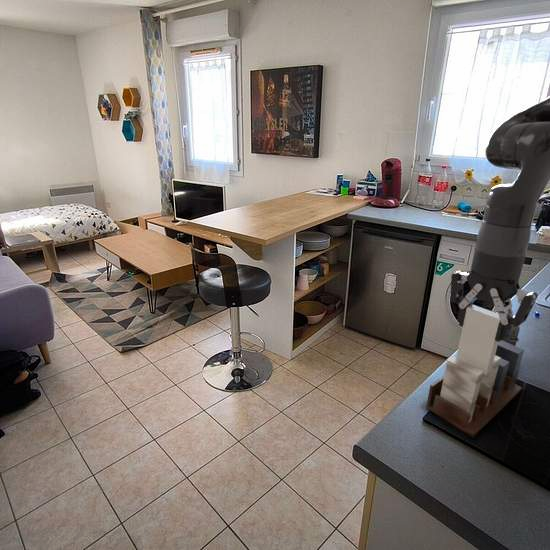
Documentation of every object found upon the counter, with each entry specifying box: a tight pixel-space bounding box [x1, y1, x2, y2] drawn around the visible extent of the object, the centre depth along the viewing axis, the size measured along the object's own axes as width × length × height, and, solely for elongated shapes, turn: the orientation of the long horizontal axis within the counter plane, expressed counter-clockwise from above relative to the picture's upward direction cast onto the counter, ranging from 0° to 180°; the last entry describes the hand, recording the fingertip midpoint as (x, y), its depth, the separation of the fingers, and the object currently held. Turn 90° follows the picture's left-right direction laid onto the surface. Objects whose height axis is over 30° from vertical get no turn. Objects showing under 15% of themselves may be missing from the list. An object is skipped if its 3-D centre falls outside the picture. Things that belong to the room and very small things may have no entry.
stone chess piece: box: [502, 325, 521, 347], centre depth 88 cm, size 6×6×12 cm
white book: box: [455, 304, 501, 374], centre depth 69 cm, size 6×2×12 cm, turn 37°
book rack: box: [425, 340, 525, 438], centre depth 76 cm, size 10×22×13 cm, turn 127°
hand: (480, 331), depth 68 cm, fingers closed on white book, 6 cm apart
